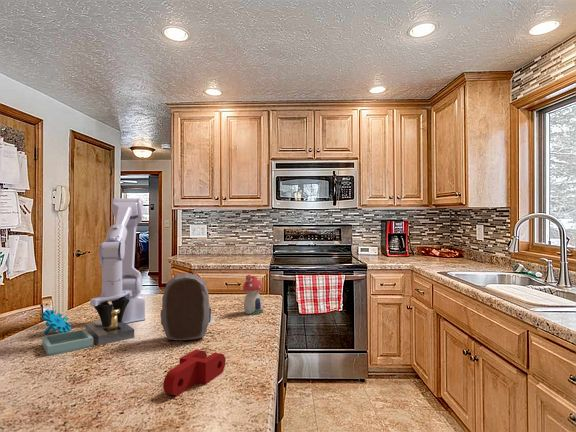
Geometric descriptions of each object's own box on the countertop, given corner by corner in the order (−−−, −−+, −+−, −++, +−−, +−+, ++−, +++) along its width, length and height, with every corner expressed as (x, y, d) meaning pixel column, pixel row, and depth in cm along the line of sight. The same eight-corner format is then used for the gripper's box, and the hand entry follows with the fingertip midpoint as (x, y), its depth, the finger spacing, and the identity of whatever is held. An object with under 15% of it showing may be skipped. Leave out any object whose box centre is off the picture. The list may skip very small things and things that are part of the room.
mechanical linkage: (200, 366, 91) (200, 346, 91) (225, 371, 88) (225, 350, 88) (154, 396, 76) (154, 371, 76) (182, 402, 73) (182, 377, 73)
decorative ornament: (248, 316, 136) (248, 276, 136) (238, 313, 140) (238, 274, 141) (267, 312, 142) (267, 273, 142) (257, 309, 147) (256, 271, 147)
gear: (60, 333, 112) (38, 309, 112) (45, 347, 111) (23, 323, 112) (79, 327, 123) (60, 306, 123) (66, 340, 122) (46, 318, 123)
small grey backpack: (158, 344, 106) (158, 275, 107) (163, 335, 115) (163, 271, 115) (211, 341, 109) (211, 273, 109) (212, 332, 117) (212, 270, 117)
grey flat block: (118, 325, 125) (118, 312, 125) (134, 337, 112) (134, 323, 112) (85, 331, 118) (85, 318, 118) (98, 344, 106) (98, 330, 106)
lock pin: (117, 333, 116) (117, 307, 116) (121, 337, 113) (121, 309, 113) (102, 336, 113) (102, 309, 113) (106, 340, 110) (106, 312, 110)
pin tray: (84, 337, 113) (84, 329, 113) (93, 346, 104) (93, 337, 104) (41, 345, 106) (41, 336, 106) (47, 356, 97) (47, 346, 97)
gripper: (119, 276, 121) (119, 317, 121) (82, 283, 107) (82, 329, 107) (136, 277, 119) (137, 318, 119) (100, 284, 105) (101, 332, 105)
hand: (112, 324), depth 113 cm, fingers closed on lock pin, 4 cm apart
